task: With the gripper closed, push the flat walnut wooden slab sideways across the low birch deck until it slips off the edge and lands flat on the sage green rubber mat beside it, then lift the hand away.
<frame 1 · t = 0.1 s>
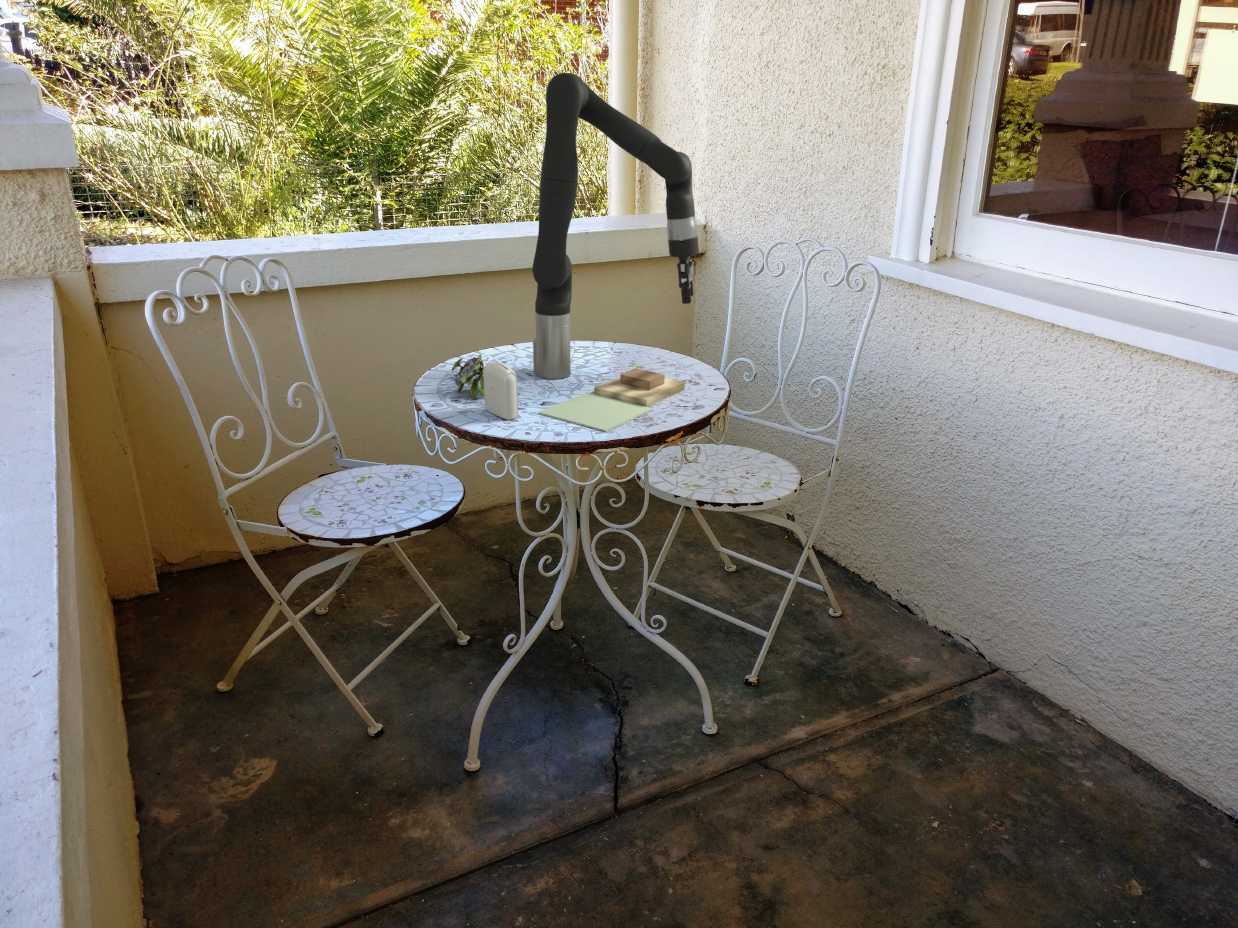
hand: (688, 299, 228), 22 cm above the table, tool pointing down, fingers open, 8 cm apart
walnut slab: (642, 383, 228), point 2 cm above the table, touching birch deck
photo printer: (501, 414, 211), on the table
passion flower: (475, 393, 225), on the table
birch deck: (639, 392, 228), on the table
sage mat: (596, 411, 213), on the table
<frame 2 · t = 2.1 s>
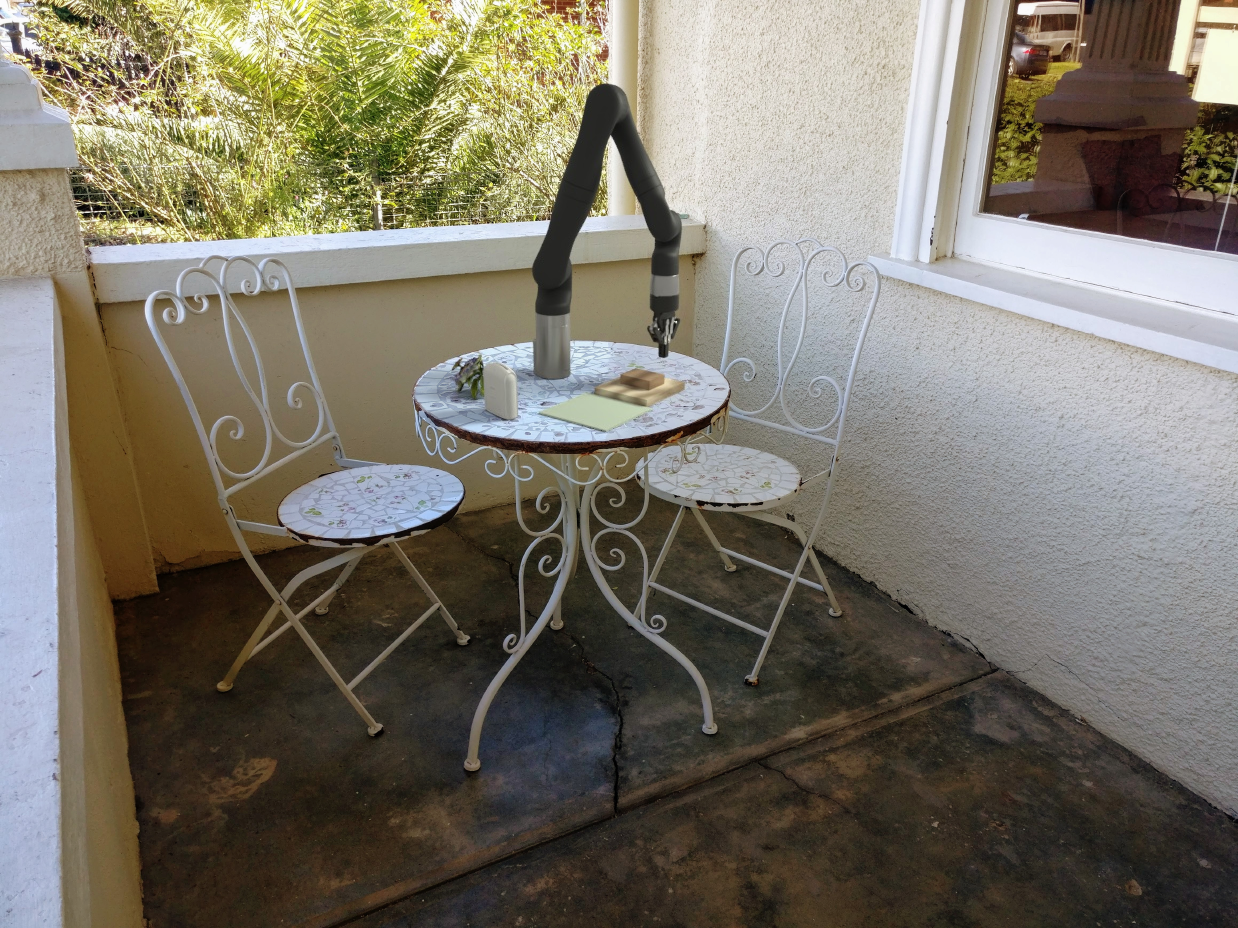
hand: (663, 357, 232), 7 cm above the table, tool pointing down, fingers closed
nothing on the table moved.
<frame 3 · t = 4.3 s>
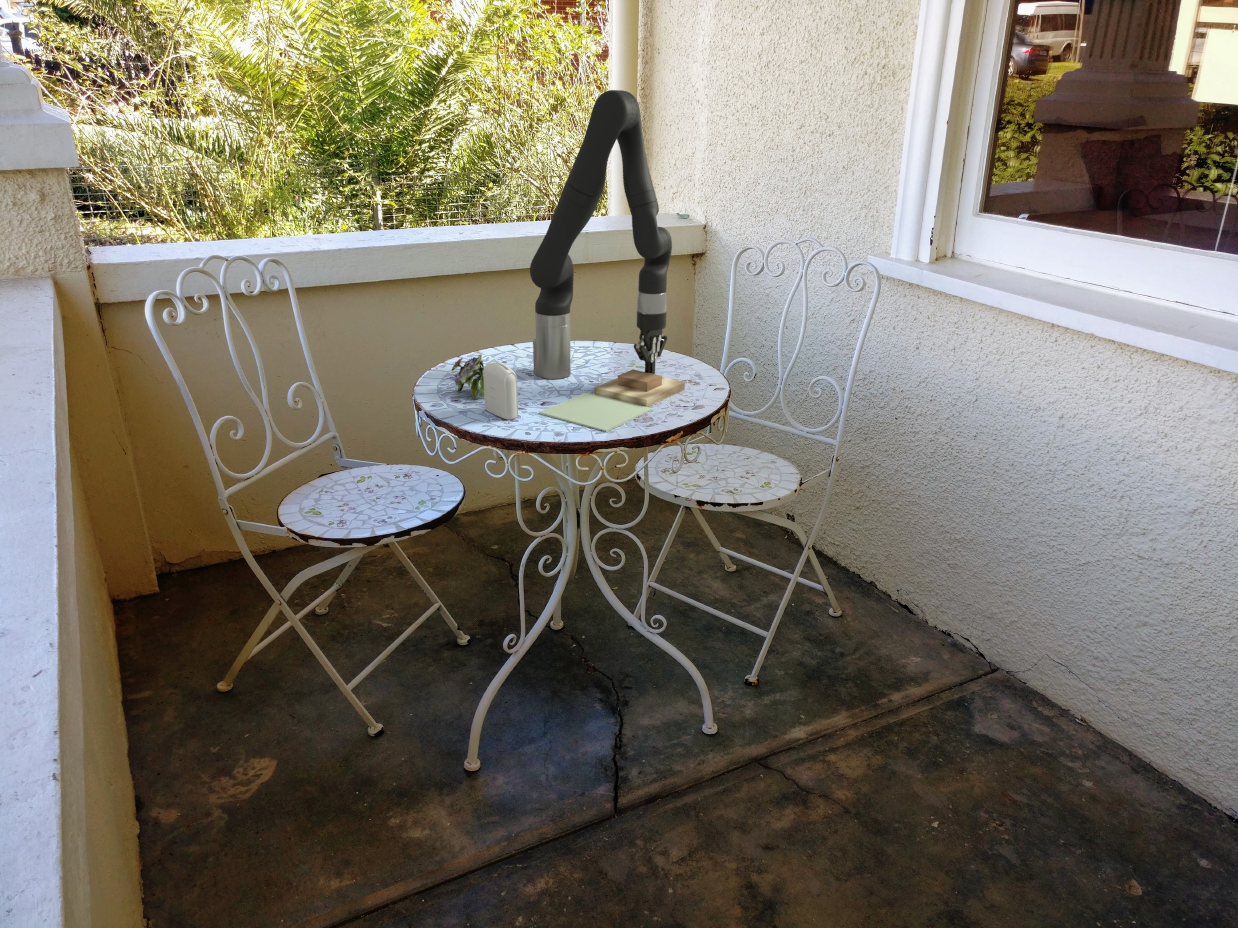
hand: (649, 374, 230), 4 cm above the table, tool pointing down, fingers closed
walnut slab: (639, 385, 227), point 2 cm above the table, touching gripper
everything else where it was.
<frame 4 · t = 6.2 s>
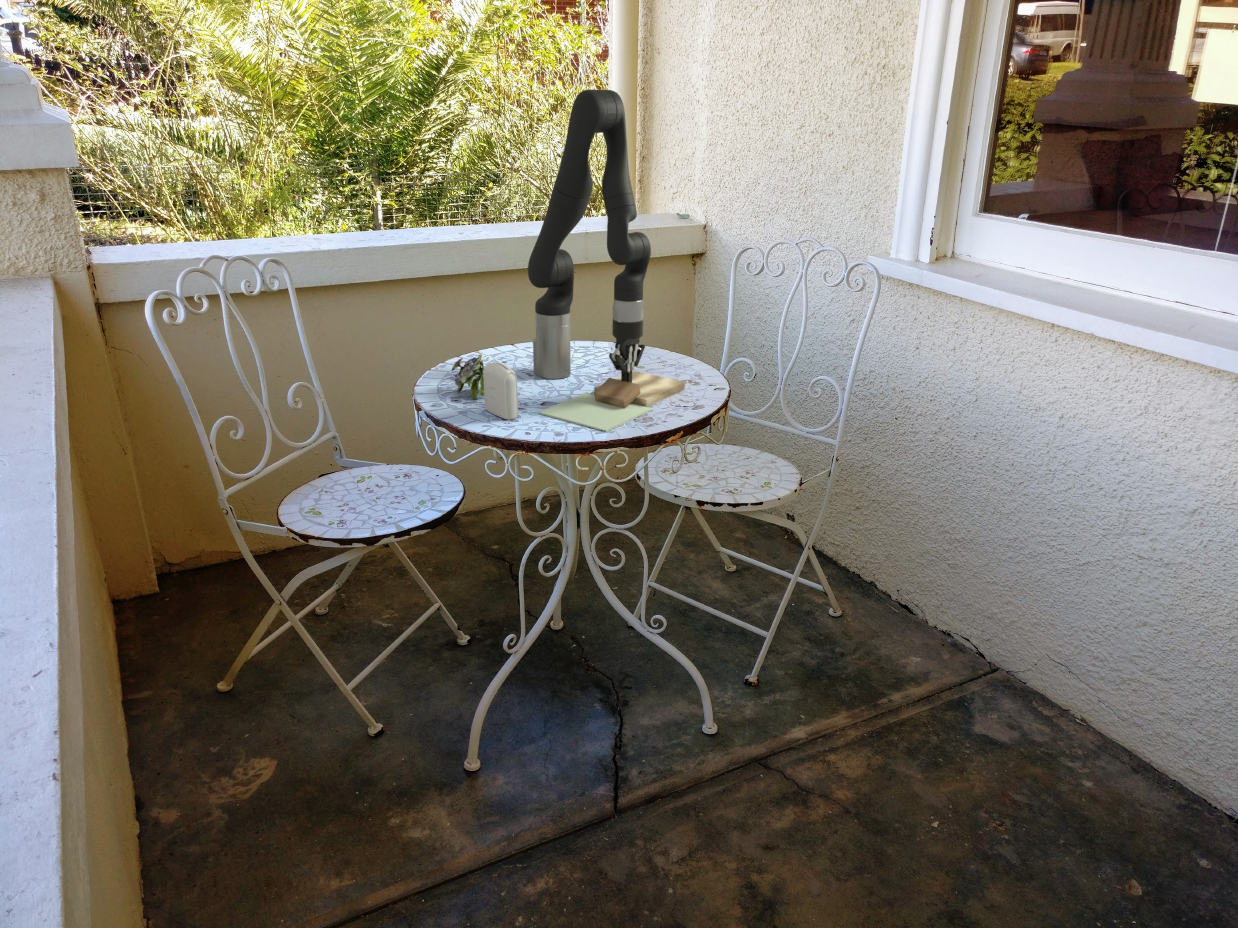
hand: (626, 385, 222), 4 cm above the table, tool pointing down, fingers closed
walnut slab: (617, 396, 219), point 2 cm above the table, tilted 19°, touching gripper
everything else where it was.
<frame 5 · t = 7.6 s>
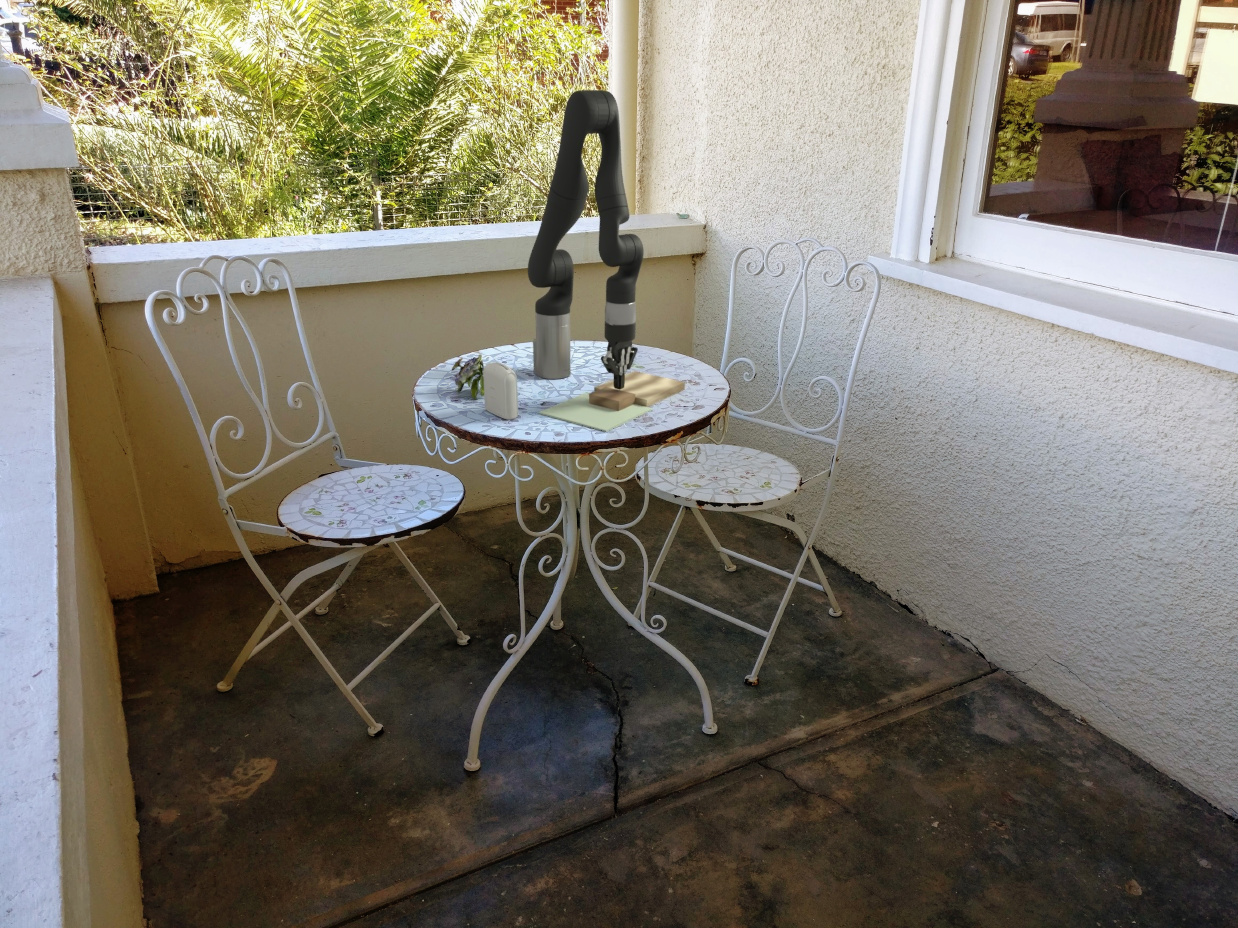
hand: (618, 388, 219), 4 cm above the table, tool pointing down, fingers closed
walnut slab: (612, 403, 218), resting on sage mat
everything else where it was.
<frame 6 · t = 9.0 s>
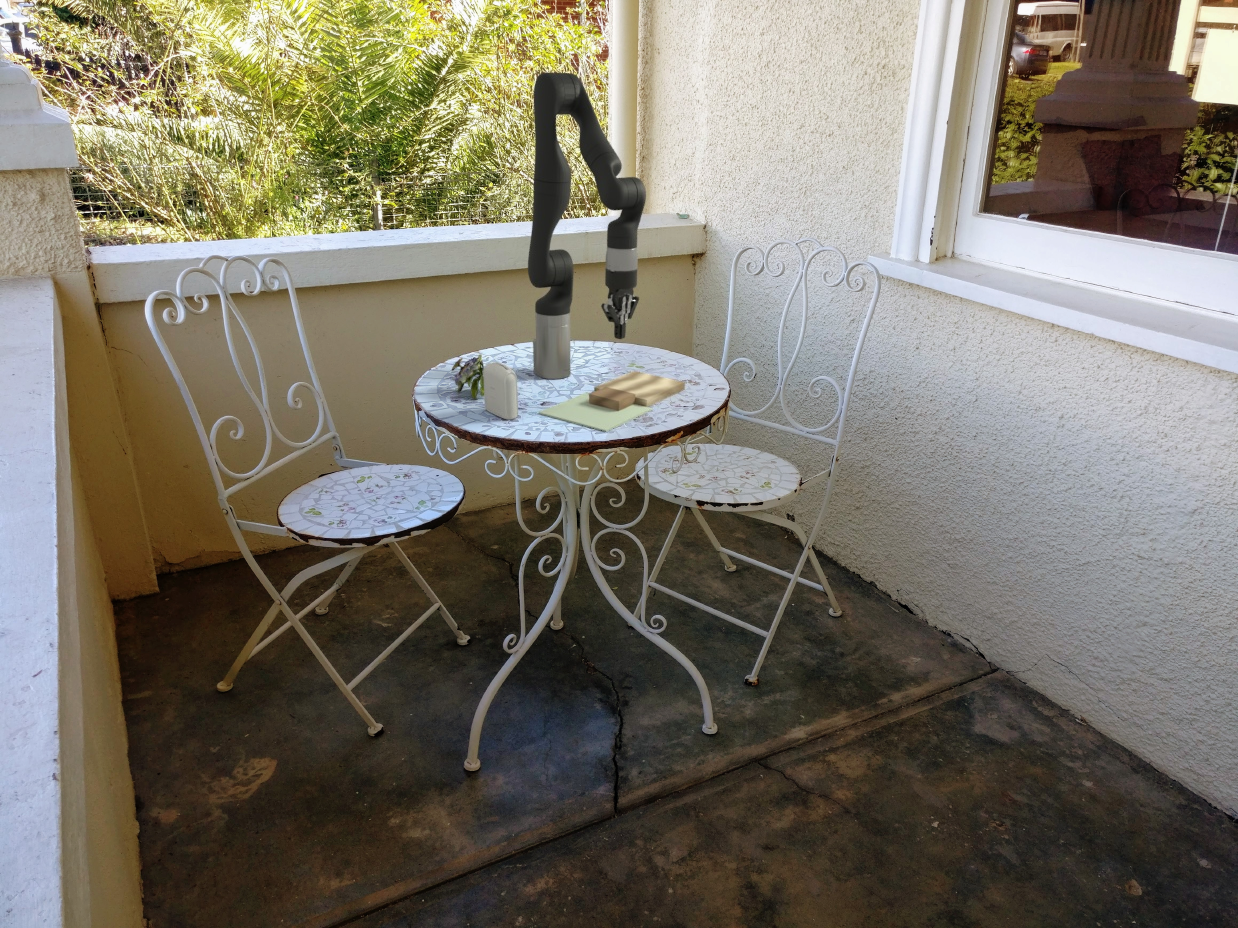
hand: (619, 338, 214), 16 cm above the table, tool pointing down, fingers closed
nothing on the table moved.
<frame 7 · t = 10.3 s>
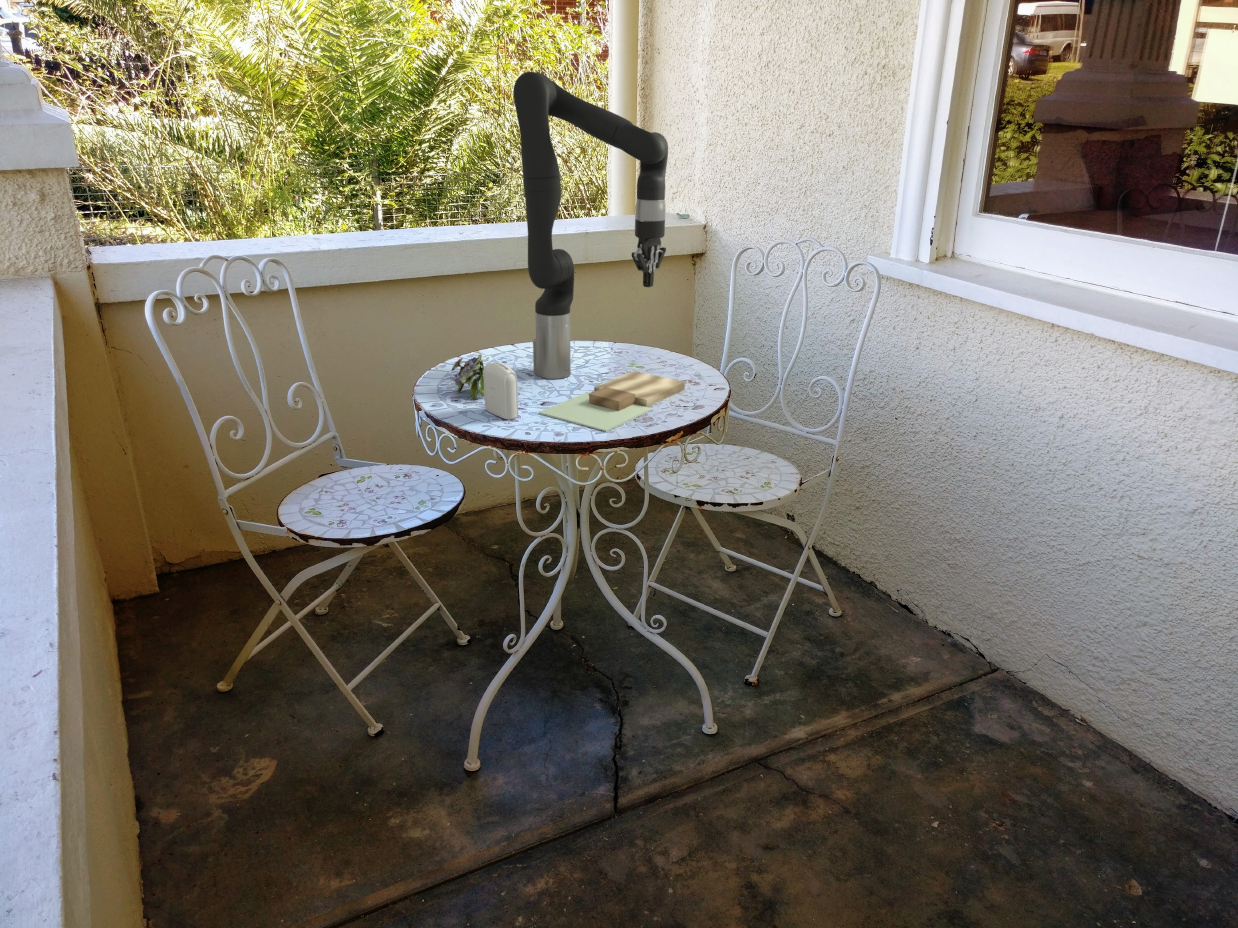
hand: (648, 286, 228), 25 cm above the table, tool pointing down, fingers closed
nothing on the table moved.
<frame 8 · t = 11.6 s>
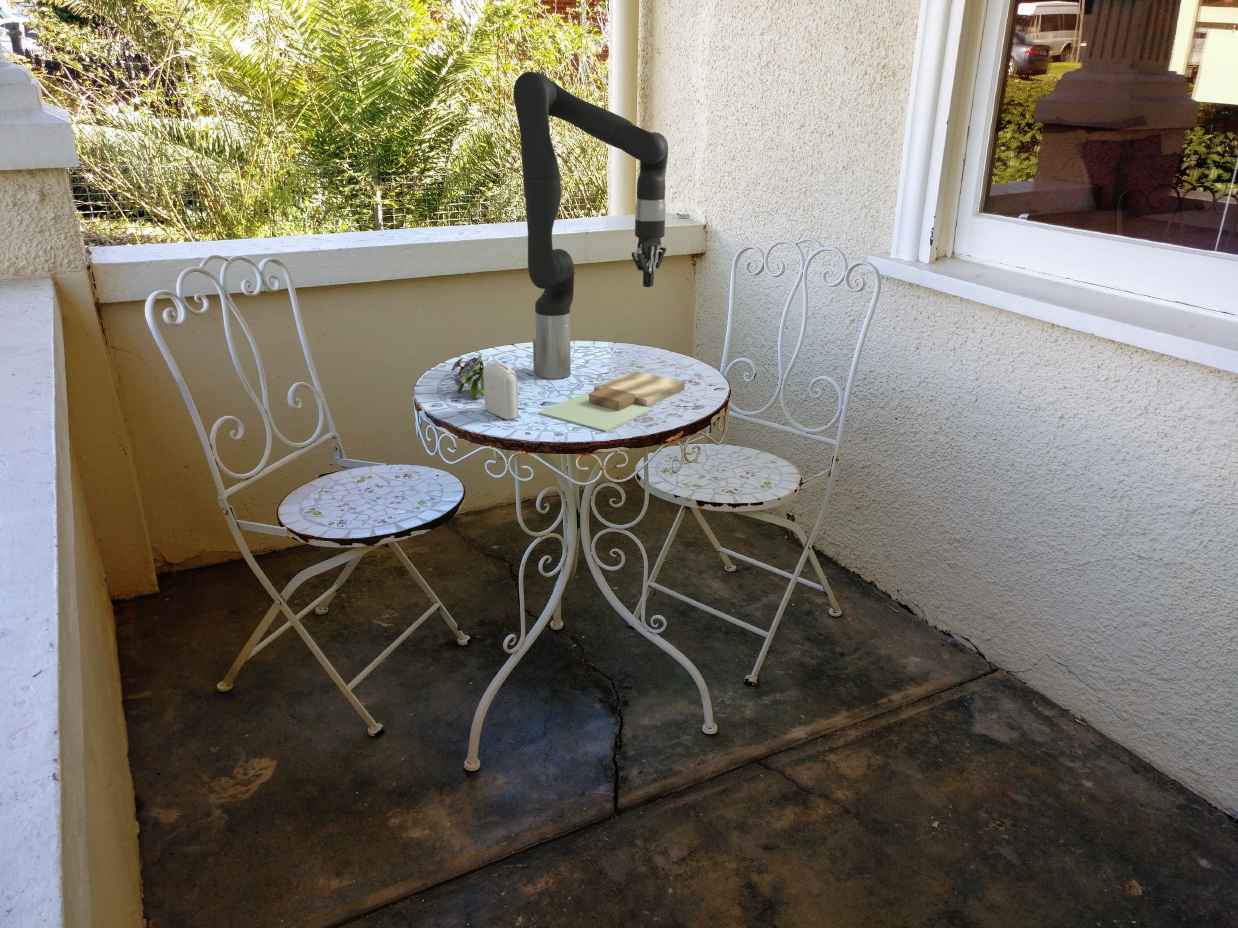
hand: (648, 286, 228), 25 cm above the table, tool pointing down, fingers closed
nothing on the table moved.
at the end: walnut slab inside the target area (6.4 cm from its centre), resting on sage mat; walnut slab tilted 0°; walnut slab touching sage mat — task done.
